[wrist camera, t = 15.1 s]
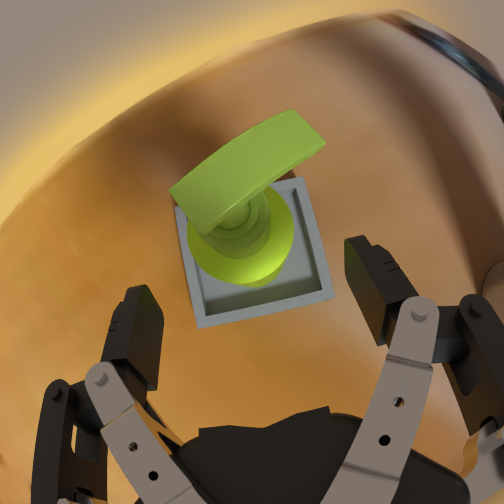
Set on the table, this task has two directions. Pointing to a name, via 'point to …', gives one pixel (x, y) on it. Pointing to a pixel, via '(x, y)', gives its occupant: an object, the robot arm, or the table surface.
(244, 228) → the soap dispenser
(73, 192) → the table surface
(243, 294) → the tray
